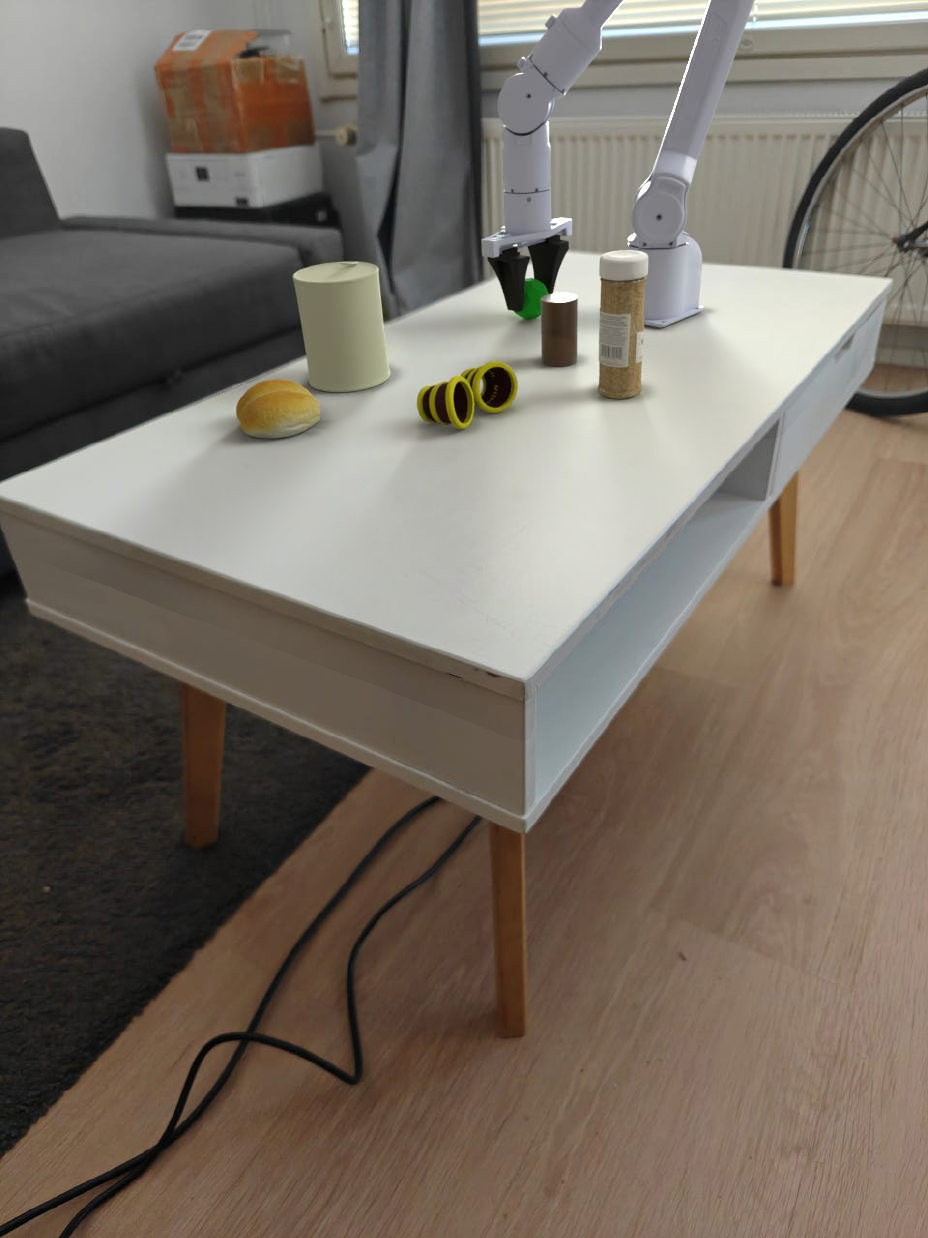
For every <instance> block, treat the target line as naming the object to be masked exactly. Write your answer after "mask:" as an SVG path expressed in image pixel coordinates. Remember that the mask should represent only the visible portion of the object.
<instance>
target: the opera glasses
mask: <svg viewBox="0 0 928 1238" xmlns="http://www.w3.org/2000/svg"><path fill="white" fill-rule="evenodd" d="M481 381H482V389H480V387H481V385H480V384H481ZM518 383H519V382H518V379H517V376H516V373H515V372H514V370H513V369H512V367H511V366H509V365H508V364H507V363H505V362H503V361H499V360H493V361H492V360H491V361H488V362H486V363H484V364H483V365H479V366H477V367H469V368H466V369H465V370H463V371H462V373H461V374H460V375H454V376H452V377H451V378H450V379H449V380H448V381H446V380H445V381H441V382H438V383H436V384H433V385H425V386H423V387H422V388H420V390H419V392H418V394H417V396H416V397H417V398H416V409H417V412H418V414H419V417H420V418H421V419H422V420H423V421H424V422H426V423H438V424H440V425H445V426H449V425H453V427H454V428H455V429H457V430H465V429H467V428H468V427H469V426H470V425H471V423H472V421H473V418H474V413H475V406H477V407H479V408H480V409H481V410H482V411H484V412H486V413H490V414H498V413H502V412H504V411H505V410H507V409H508V408H509V407H510V406H512V404H513V402H514V401H515V399H516V396H517V393H518V385H519V384H518ZM480 390H481V391H480Z"/></svg>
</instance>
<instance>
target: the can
mask: <svg viewBox="0 0 928 1238" xmlns="http://www.w3.org/2000/svg"><path fill="white" fill-rule="evenodd" d="M292 281H293V285H294V289H295V290H294V291H295V296H296V301H297V302H296V303H297V306H298V313H299V318H300V319H299V320H300V325H301V332H302V339H303V343H304V344H303V345H304V349H305V350H304V351H305V356H306V364H307V369H308V383H309V386H311V388H314V389H316V390H319V391H323V392H328V393H349V392H350V393H351V392H357V391H364V390H368V389H371V388H374V387H376V386H379V385H381V384H383V383H385V382H386V381H388V380H389V378H390V377H391V375H392V374H391V373H392V372H391V369H390V366H389V359H388V353H387V350H388V349H387V344H386V343H387V341H386V334H385V324H384V316H383V315H384V314H383V306H382V299H381V298H382V297H381V285H380V275H379V267H378V266H377V265H376V264H374V263H370V262H366V261H336V262H335V261H333V262H325V263H320V264H315V265H310V266H307V267H303V268H302V269H299V270H296V272H294V273H293V274H292Z"/></svg>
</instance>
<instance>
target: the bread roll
mask: <svg viewBox="0 0 928 1238" xmlns="http://www.w3.org/2000/svg"><path fill="white" fill-rule="evenodd" d="M235 407H236V408H235V415H236V418H237V420H238V421H239V425H240V428H241V430H242V432H244V433H245V434H246V435H248V436H249V437H251V438H256V439H282V438H289V437H293V436H296V435H299V434H301V433H304V432H306V431H307V430H309V429H311V428H312V427H314V426H315V425H316V424H318V422H319V421H320V419H321V416H322V406H321V403H320V402H319V401H318V400H317V399H316V397H315V396H314V395H313V394H312V393H311V392H310V391H309V390H308V389H307V388H306V387H304V386H303V385H301V384H300V383H298V382H295V381H293V380H288V379H284V378H283V379H282V378H280V379H279V378H275V379H268V380H262V381H260V382H258V383H255V384H254V385H252V386H250V387H249V388H248V389H247V390H246V391H245V392H244V393H243V394H242V396H240V398H239V399H238V401H237V403H236V406H235Z"/></svg>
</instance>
